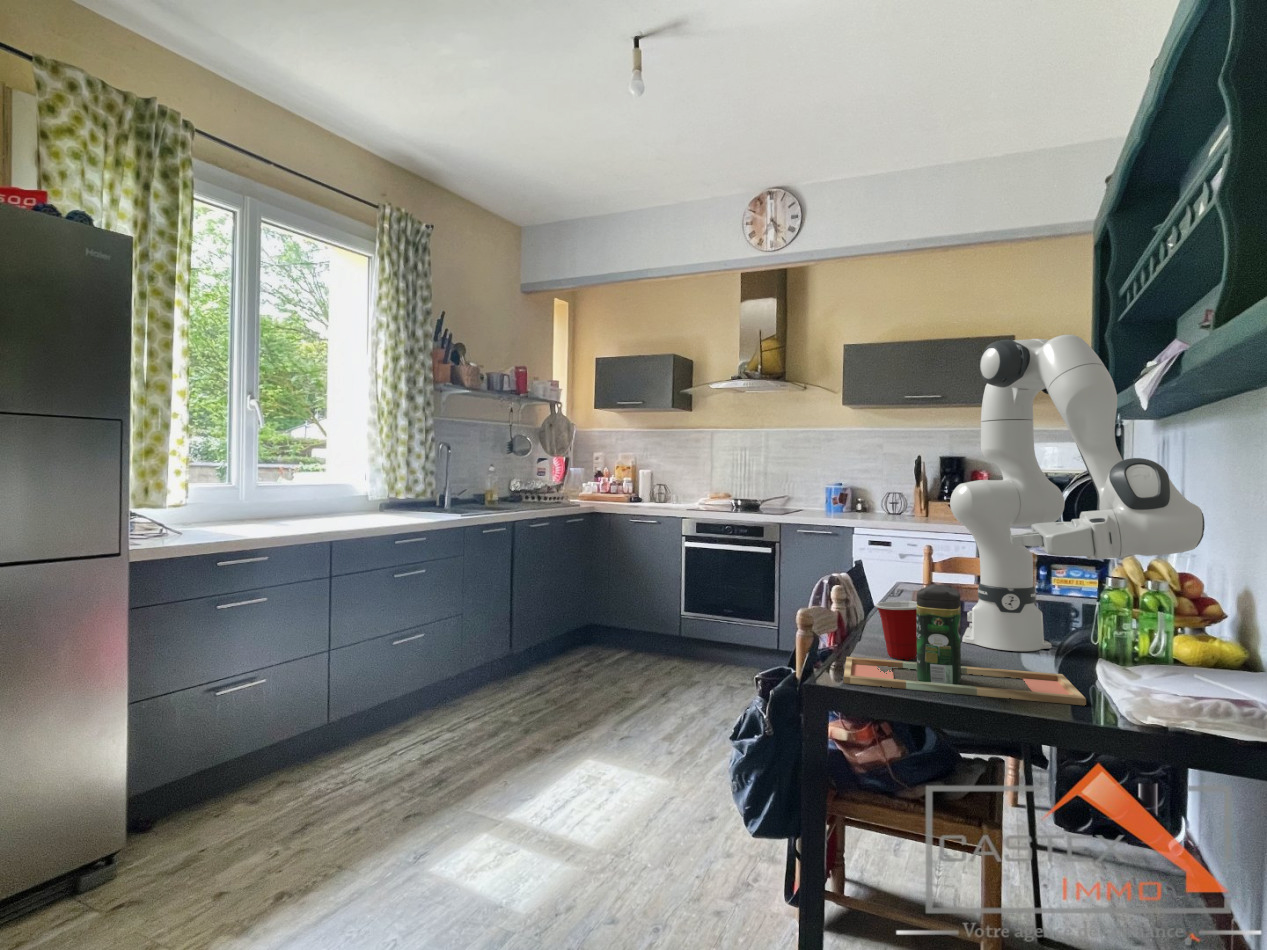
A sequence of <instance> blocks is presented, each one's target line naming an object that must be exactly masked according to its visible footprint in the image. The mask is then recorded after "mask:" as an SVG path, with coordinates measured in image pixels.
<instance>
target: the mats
mask: <svg viewBox="0 0 1267 950" xmlns="http://www.w3.org/2000/svg"><path fill="white" fill-rule="evenodd" d="M877 668H878V667H877V666H869V665H857V664H852V671H851V675H853V676H865V677H876V678H887V679H895V678H894V676H895V675H894V671H893V672H892V671H891V670H890V671H891V672H889V670H888V671H887V672H885V673H884V672H883V671H881V670H880V668H878V669H879V670H878V669H877ZM880 671H881V672H880ZM886 673H887V674H886ZM1022 681H1023V682H1024V681H1025V682H1024V683H1025V685H1027V687H1028V688H1029V689H1030V690H1029V691H1033V692H1044V693H1055V694H1066V695H1070V694H1069V693H1068V692H1067V691H1066V690H1065V689H1064V688H1063V687H1062V685H1061V684H1060V683H1059V682H1058V681H1047V680H1035V679H1024V678H1023V679H1022Z"/></svg>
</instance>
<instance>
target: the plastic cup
mask: <svg viewBox="0 0 1267 950" xmlns="http://www.w3.org/2000/svg"><path fill="white" fill-rule="evenodd" d="M874 606H875V607H876V608H877V610H878V614H879V617H880V619H881V620H880V621H881V626H882V630H883V637H884V641H885V646H886V652H887V655H889V656H890V657H889V656H888V657H889V658H891V657H893V658H892V659H894V658H897V659H896V660H899V659H905V660H904V661H911V659H913V660H916V659H917V601H913V600H895V601H894V600H891V601H890V600H889V601H881V602H877V603H876V604H875V605H874ZM909 659H910V660H909Z"/></svg>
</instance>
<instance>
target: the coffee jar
mask: <svg viewBox="0 0 1267 950" xmlns="http://www.w3.org/2000/svg"><path fill="white" fill-rule="evenodd" d="M961 597H962V596H961V593H960V592H959V591H958V590H957V589H955V588H953V587H952V586H951V585H946V584H945V585H943V584H928V585H927V586H925V587H922V588H921V589H919V590H918V591H917V592H916V602H917V655H916V662H917V670H916V678H917V681H921V682H932V683H943V684H954V685H960V683H961V681H962V674H961V666H962V656H961V654H962V653H961V652H962V651H961V648H962V647H961V646H962V644H961V643H962V636H961V633H962V632H961V631H962V629H961V628H962V623H961V622H962V621H961V619H962V618H961V617H962V615H961V613H962V612H961Z"/></svg>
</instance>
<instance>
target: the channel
mask: <svg viewBox="0 0 1267 950" xmlns="http://www.w3.org/2000/svg"><path fill="white" fill-rule="evenodd" d="M852 664H857V665H870V666H888V667H898V668H908V669H907V670H910V669H916V670H915V671H917V661H907V660H895V659H894V660H891V659H890V660H889V659H882V658H881V659H880V658H879V659H877V658H867V657H855V656H846V659H845V664H844V665H845V666H844V673H843V684H849V685H862V686H871V687H872V686H873V687H880V686H882V687H883V688H891V687H892V688H893V689H894V688H895V689H903V690H904V689H905V690H913V691H924V692H925V691H926V692H933V693H934V692H935V693H936V692H937V693H946V694H947V693H948V694H954V695H955V694H957V695H969V696H980V697H990V698H1001V699H1009V698H1011V699H1012V700H1021V701H1032V702H1033V701H1035V702H1042V703H1043V702H1044V703H1053V704H1055V703H1056V704H1064V705H1065V704H1066V705H1075V706H1076V705H1078V706H1085V705H1086V706H1087V697H1085V696H1084V695H1083V694H1082V693H1081V692H1080V691H1079V690H1078V689H1077V688H1076V686H1074V685H1073V684H1072V682H1070V680H1069V679H1068V678H1067V677H1066V676H1065V675H1064V674H1063V673H1052V672H1041V671H1040V672H1039V671H1029V670H1028V671H1027V670H1026V671H1025V670H1015V669H1003V668H990V667H977V666H965V665H961V673H962V674H961V675H969V674H973V675H972V676H981V675H983V676H982V677H993V678H994V677H995V678H1004V677H1011V678H1010V679H1016V678H1020V679H1019V680H1023V678H1024V679H1035V680H1047V681H1058V682H1059V683H1060V684H1061V685H1062V687H1063V688H1064V689H1065V690H1066V691H1067V692H1068V693H1069V694H1070V695H1066V694H1055V693H1044V692H1033V691H1031V690H1021V689H1020V690H1019V689H1007V688H997V687H985V686H976V685H975V686H974V685H973V686H972V685H965V684H958V685H954V684H943V683H932V682H921V681H919V680H908V679H897V678H896V679H895V678H894V679H887V678H876V677H865V676H853V675H851V671H852ZM898 668H897V669H898ZM882 687H881V688H882ZM892 688H891V689H892Z"/></svg>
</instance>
